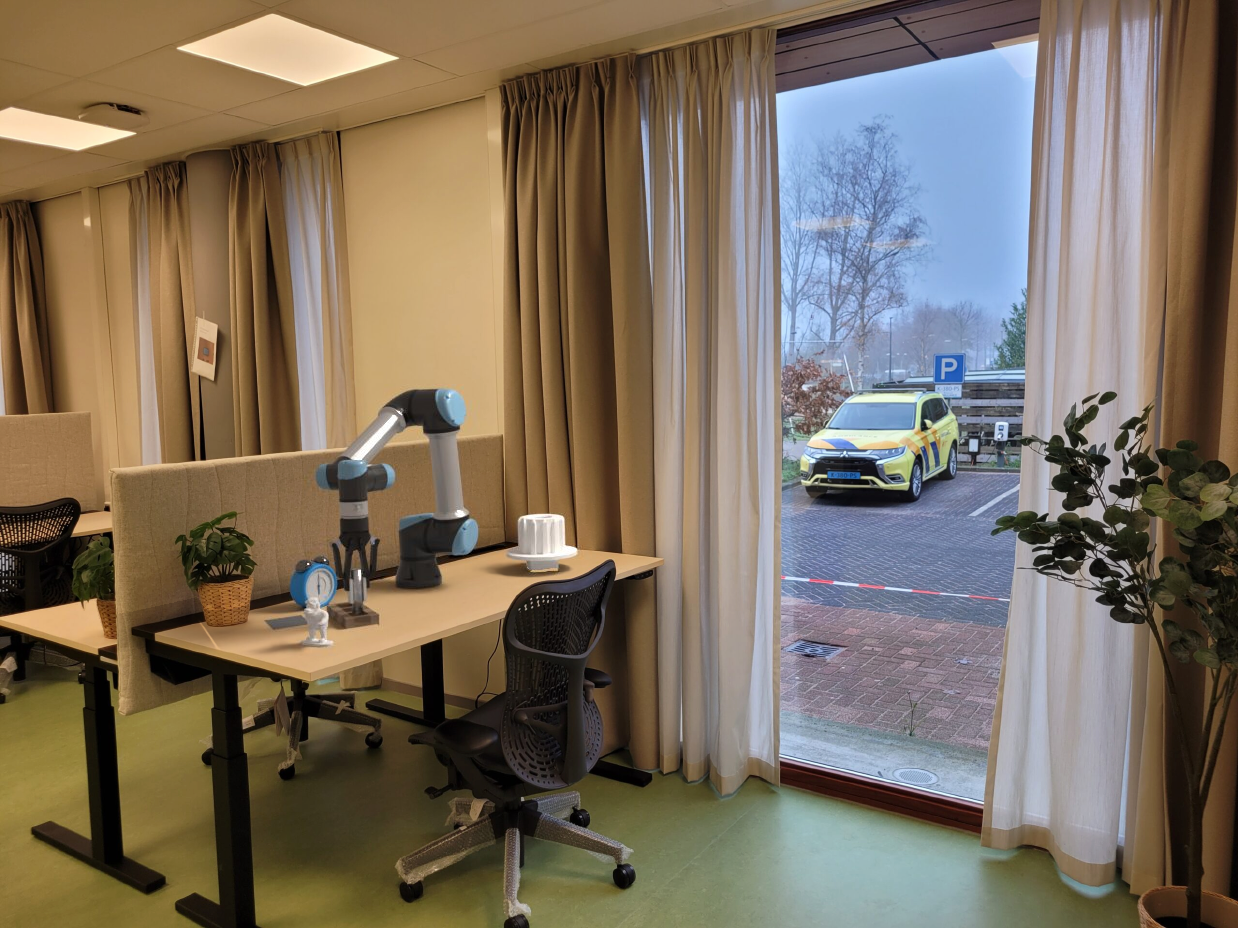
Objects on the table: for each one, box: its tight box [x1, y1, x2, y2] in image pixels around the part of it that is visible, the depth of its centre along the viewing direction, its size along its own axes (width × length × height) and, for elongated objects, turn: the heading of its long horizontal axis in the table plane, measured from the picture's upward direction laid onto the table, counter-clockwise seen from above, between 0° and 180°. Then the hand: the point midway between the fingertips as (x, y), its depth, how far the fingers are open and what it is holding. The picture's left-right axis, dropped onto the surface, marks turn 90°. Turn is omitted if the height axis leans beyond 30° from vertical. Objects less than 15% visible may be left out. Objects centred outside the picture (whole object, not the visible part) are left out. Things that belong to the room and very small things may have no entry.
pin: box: [350, 567, 364, 614], centre depth 248 cm, size 3×3×12 cm
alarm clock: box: [289, 555, 338, 608], centre depth 270 cm, size 13×6×15 cm, turn 150°
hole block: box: [325, 601, 380, 630], centre depth 254 cm, size 20×9×3 cm, turn 32°
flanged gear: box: [505, 513, 578, 571], centre depth 320 cm, size 25×25×19 cm
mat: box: [264, 614, 309, 631], centre depth 252 cm, size 12×10×1 cm
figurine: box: [300, 597, 334, 648], centre depth 230 cm, size 9×7×12 cm
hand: (357, 601), depth 249 cm, fingers closed on pin, 3 cm apart
